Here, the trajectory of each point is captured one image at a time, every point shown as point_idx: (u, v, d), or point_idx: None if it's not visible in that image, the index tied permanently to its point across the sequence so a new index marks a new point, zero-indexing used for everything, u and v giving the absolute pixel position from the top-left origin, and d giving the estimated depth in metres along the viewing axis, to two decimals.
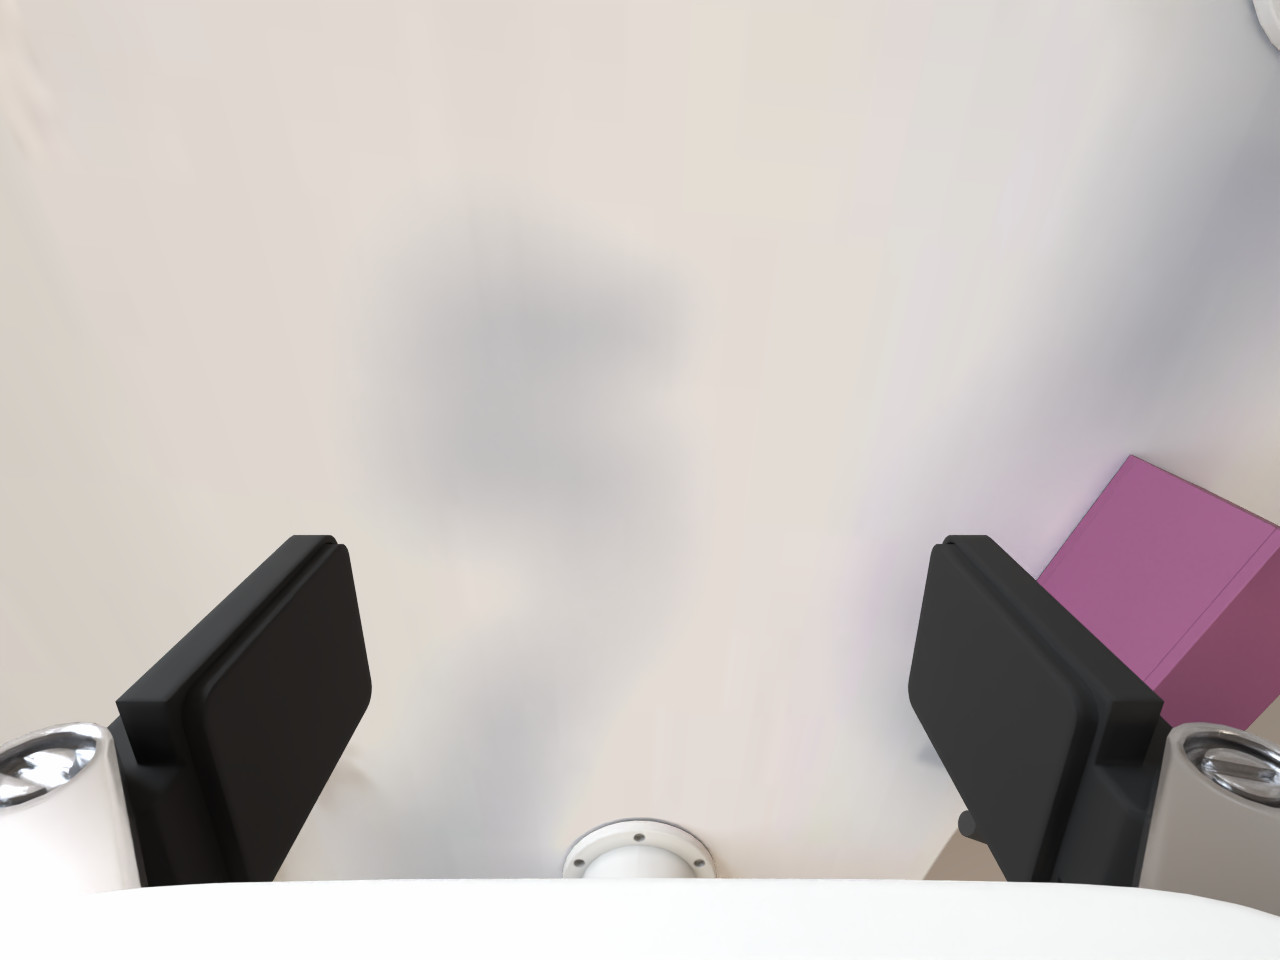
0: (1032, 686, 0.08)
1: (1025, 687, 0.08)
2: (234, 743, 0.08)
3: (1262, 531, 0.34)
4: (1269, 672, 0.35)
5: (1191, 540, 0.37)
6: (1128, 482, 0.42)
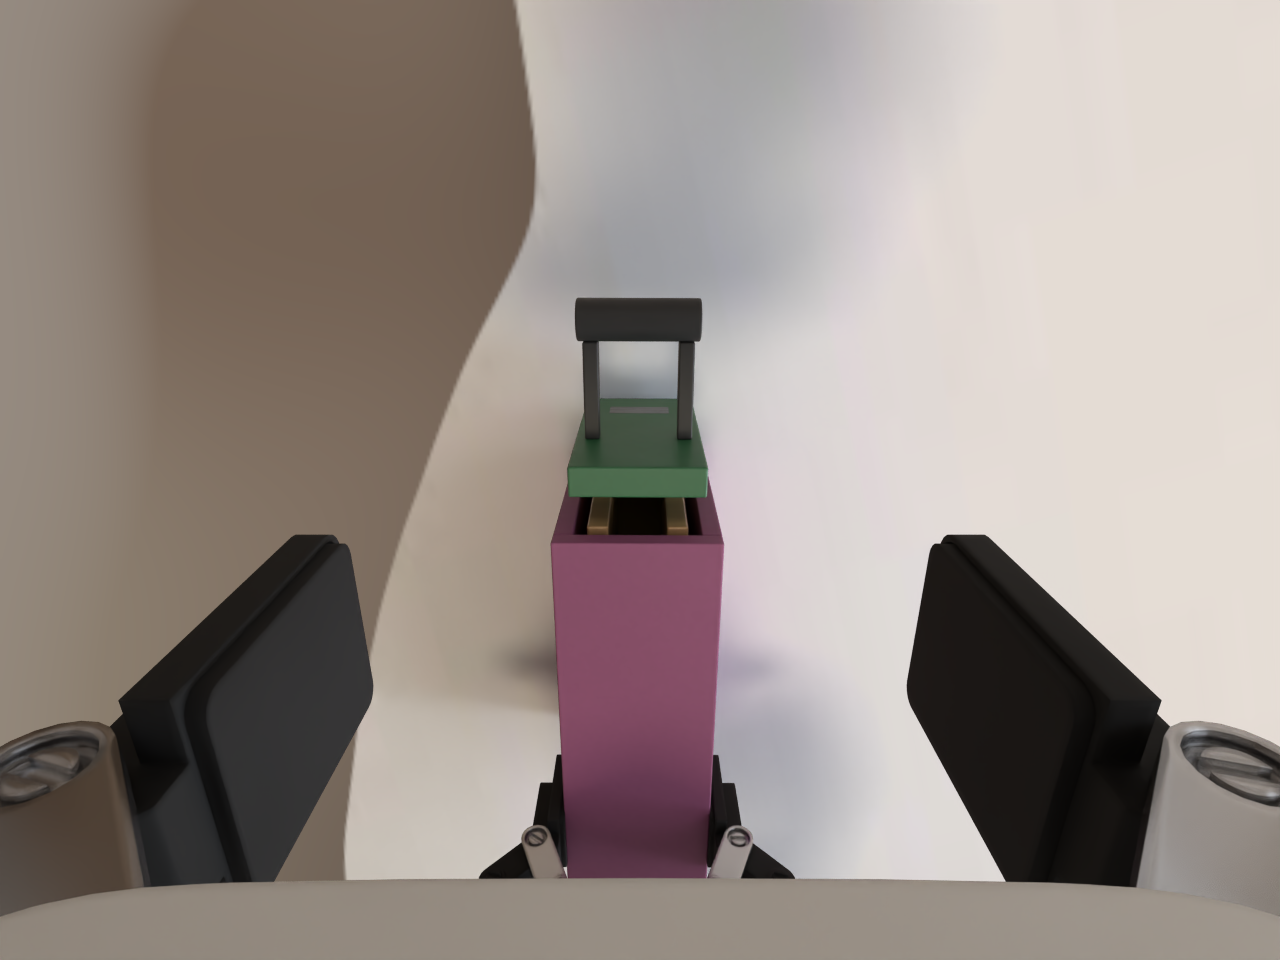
0: (1030, 685, 0.08)
1: (1023, 686, 0.08)
2: (236, 742, 0.08)
3: None
4: (598, 780, 0.29)
5: None
6: None
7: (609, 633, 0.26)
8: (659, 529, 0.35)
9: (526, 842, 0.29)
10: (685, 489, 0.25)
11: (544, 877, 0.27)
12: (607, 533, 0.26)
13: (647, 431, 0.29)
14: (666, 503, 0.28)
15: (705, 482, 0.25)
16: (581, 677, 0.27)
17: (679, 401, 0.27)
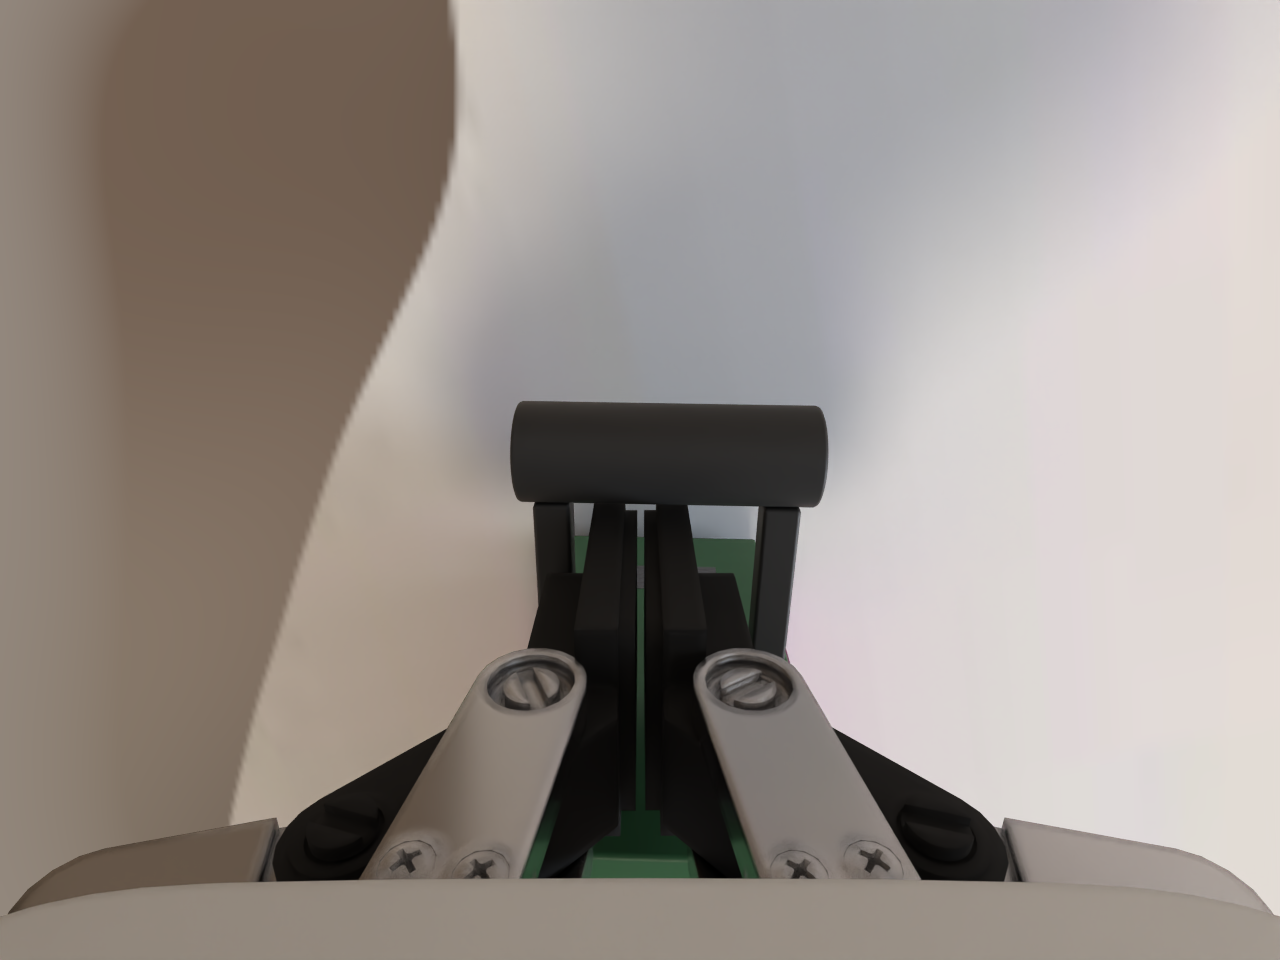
0: (645, 625, 0.09)
1: (646, 626, 0.09)
2: (635, 673, 0.09)
3: None
4: None
5: None
6: None
7: None
8: None
9: None
10: None
11: None
12: None
13: None
14: None
15: None
16: None
17: (756, 630, 0.12)
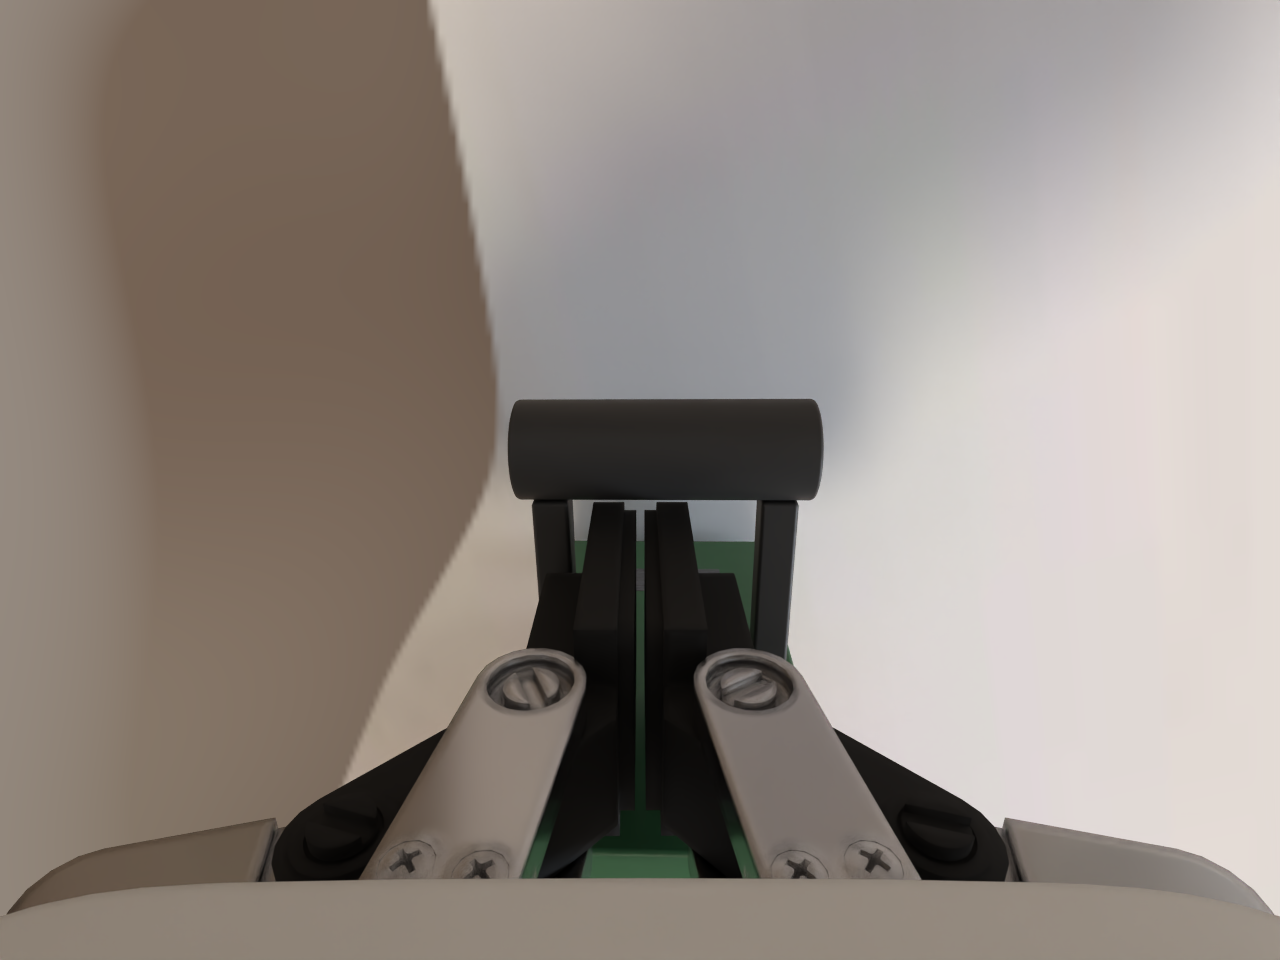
0: None
1: None
2: (634, 672, 0.09)
3: None
4: None
5: None
6: None
7: None
8: None
9: None
10: None
11: None
12: None
13: None
14: None
15: None
16: None
17: (757, 626, 0.12)
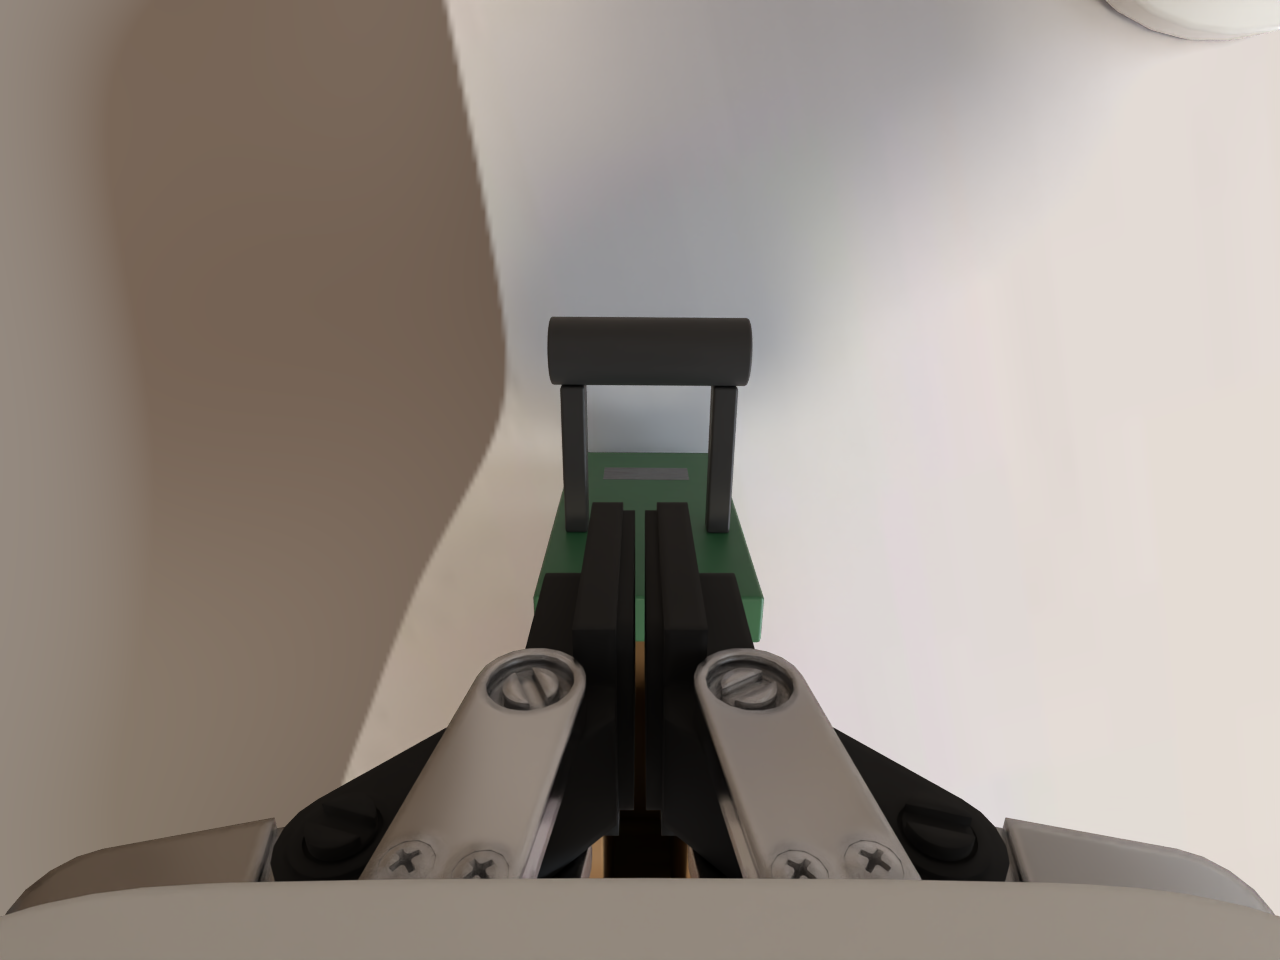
0: (646, 624, 0.09)
1: None
2: (634, 672, 0.09)
3: None
4: None
5: None
6: None
7: None
8: None
9: None
10: None
11: None
12: None
13: None
14: None
15: (759, 619, 0.15)
16: None
17: (711, 477, 0.17)
